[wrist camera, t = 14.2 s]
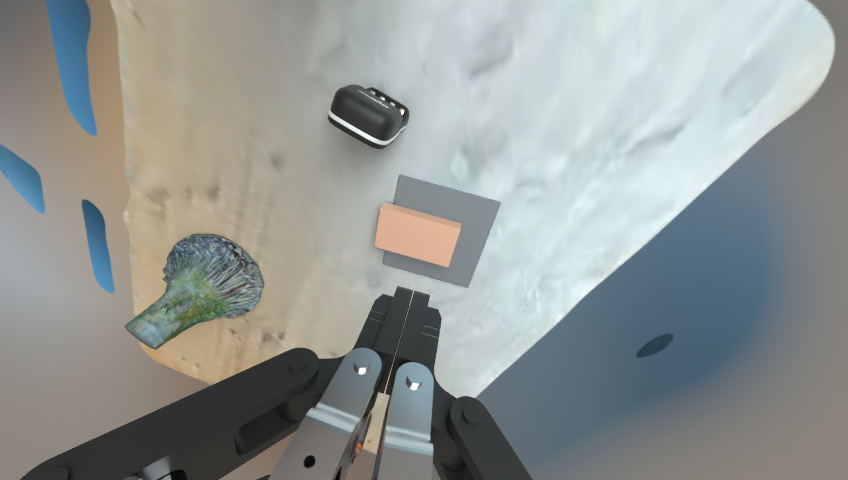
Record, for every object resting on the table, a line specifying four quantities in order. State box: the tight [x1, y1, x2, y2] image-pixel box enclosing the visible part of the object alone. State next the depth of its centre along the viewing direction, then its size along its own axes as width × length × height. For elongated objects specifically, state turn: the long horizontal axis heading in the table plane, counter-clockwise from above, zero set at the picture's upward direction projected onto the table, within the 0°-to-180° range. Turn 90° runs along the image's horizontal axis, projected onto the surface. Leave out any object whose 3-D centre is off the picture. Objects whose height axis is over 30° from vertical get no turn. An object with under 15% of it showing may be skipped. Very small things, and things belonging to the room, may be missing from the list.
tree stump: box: [125, 234, 264, 350], centre depth 56 cm, size 18×20×18 cm
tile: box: [374, 202, 461, 267], centre depth 47 cm, size 2×7×12 cm
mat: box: [383, 175, 501, 288], centre depth 48 cm, size 15×16×1 cm
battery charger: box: [328, 85, 409, 149], centre depth 35 cm, size 7×4×11 cm, turn 62°
